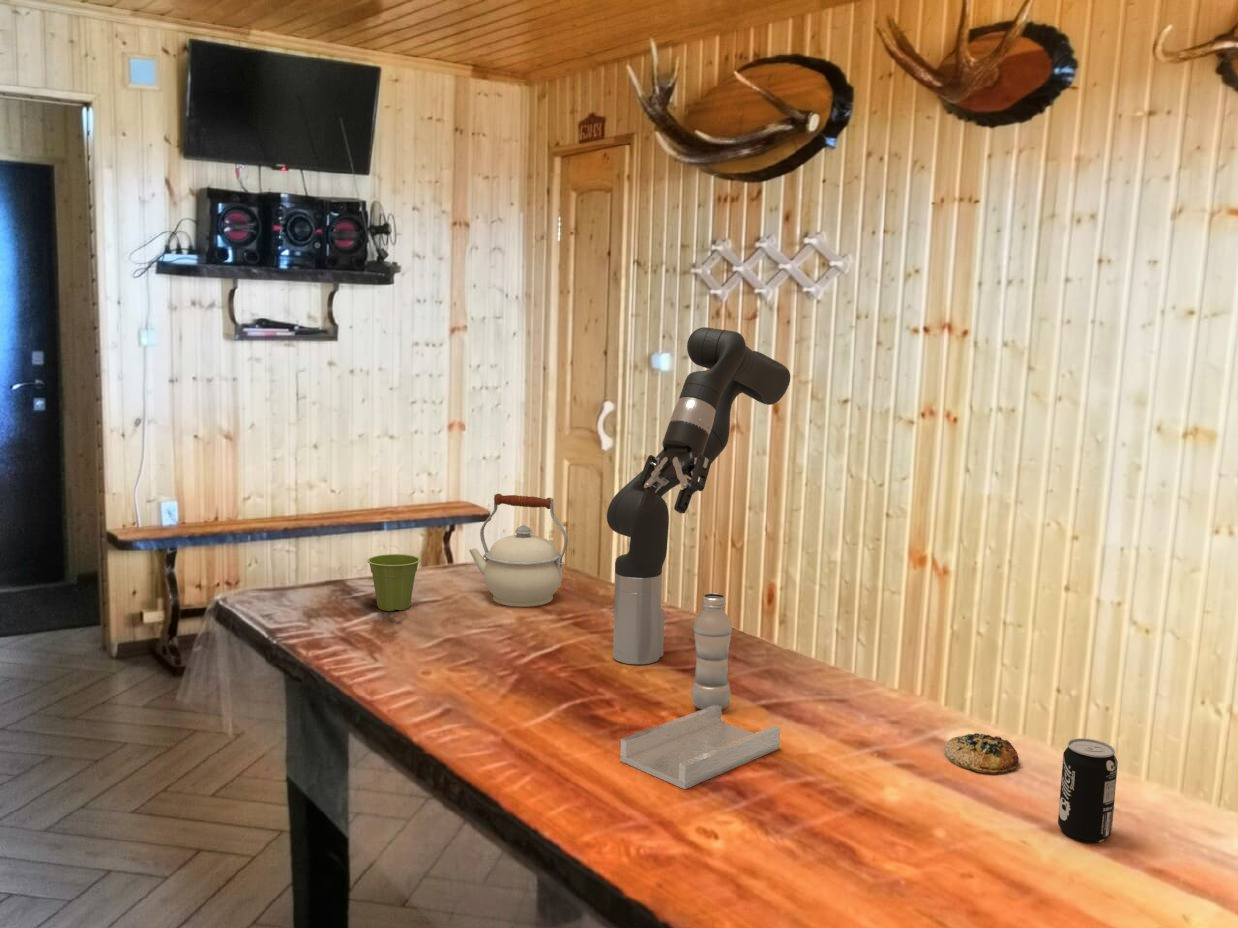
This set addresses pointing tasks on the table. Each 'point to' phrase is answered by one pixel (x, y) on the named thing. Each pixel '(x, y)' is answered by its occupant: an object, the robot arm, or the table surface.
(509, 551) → the kettle
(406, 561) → the plant pot
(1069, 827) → the beverage can
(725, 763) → the aluminium track
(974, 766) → the bread roll
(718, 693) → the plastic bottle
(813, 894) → the table surface
